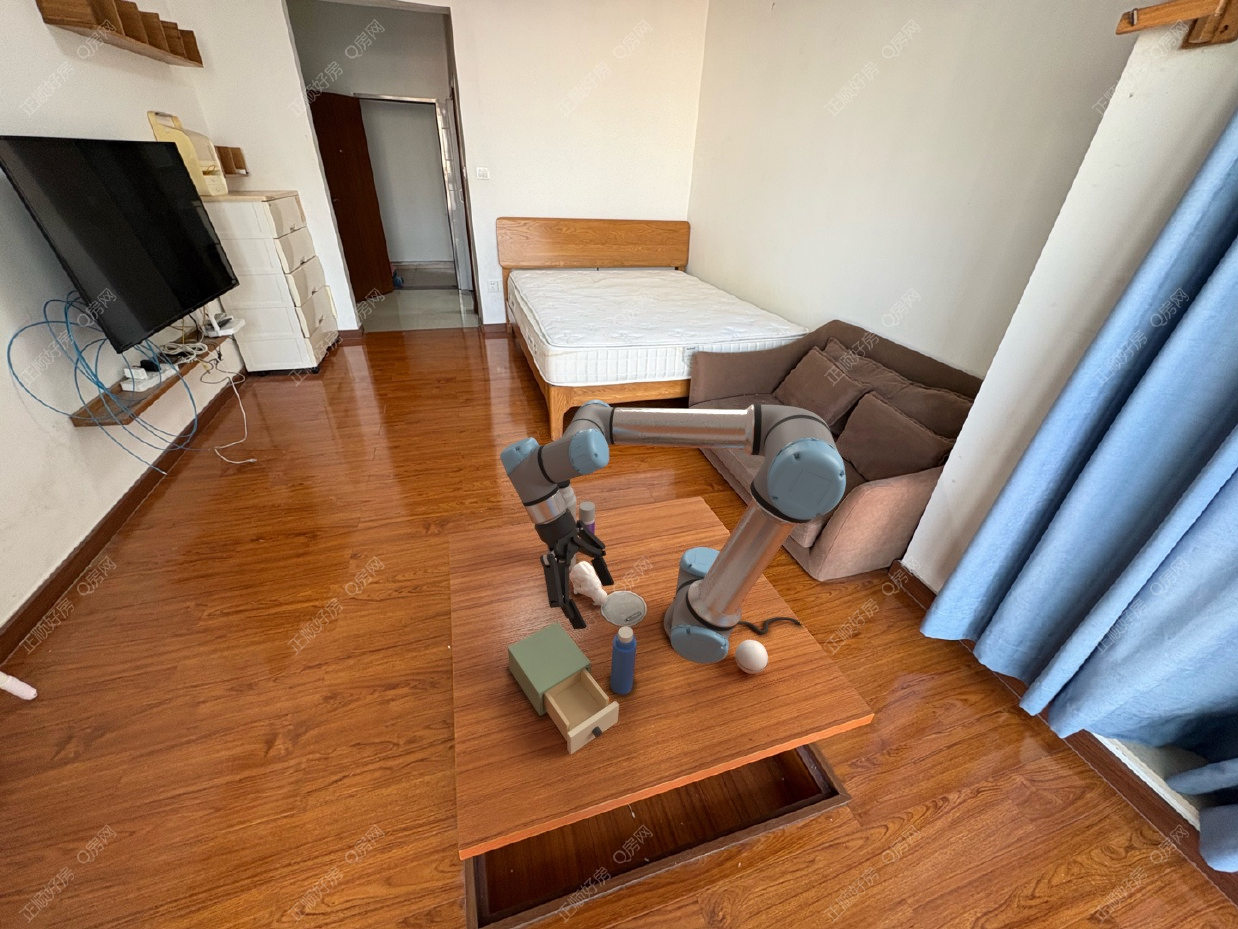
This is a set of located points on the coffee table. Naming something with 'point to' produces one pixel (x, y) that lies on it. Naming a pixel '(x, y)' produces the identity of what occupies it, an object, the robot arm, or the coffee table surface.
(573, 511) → the thermos bottle
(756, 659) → the white oval solid
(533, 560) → the coffee table surface
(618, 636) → the bottle
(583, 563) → the white sculpted piece
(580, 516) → the container
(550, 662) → the cabinet
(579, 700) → the drawer
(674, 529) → the coffee table surface
